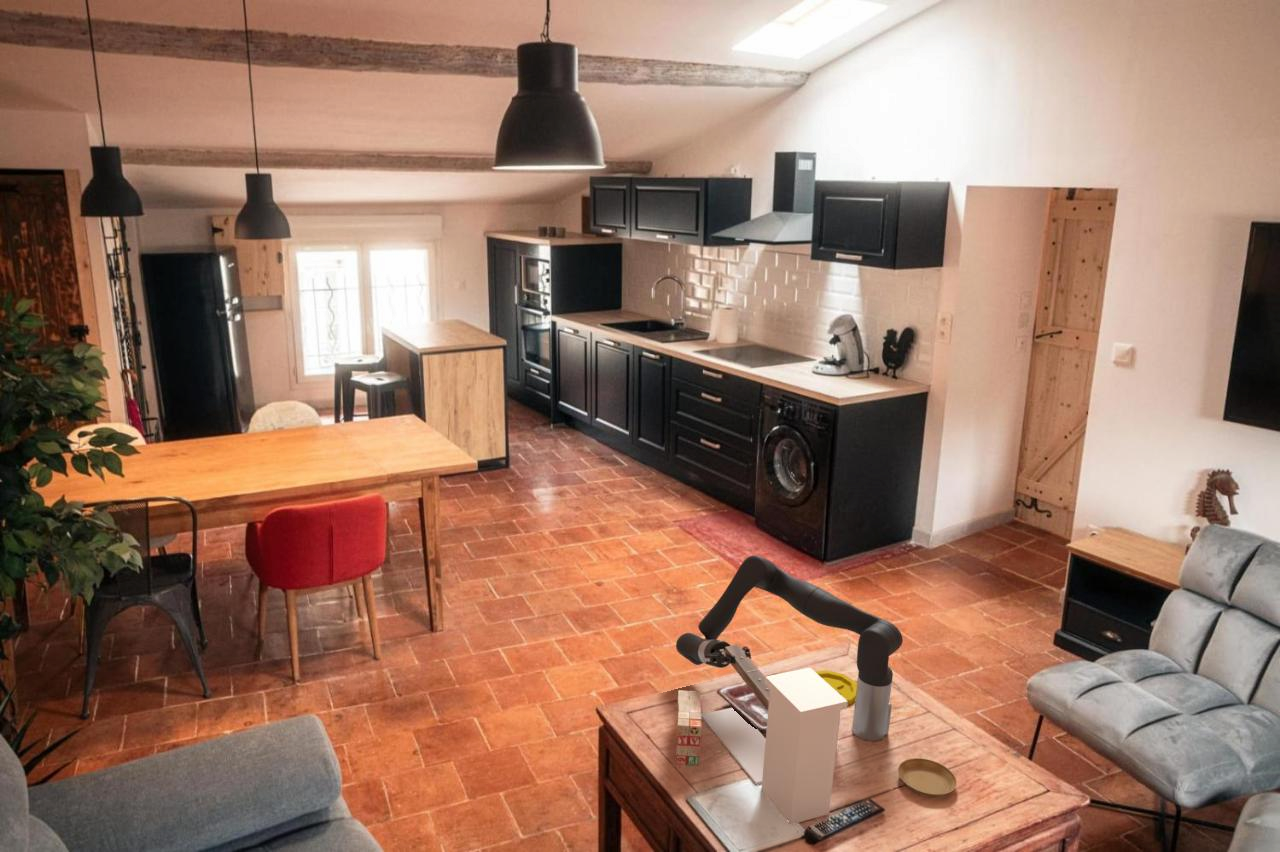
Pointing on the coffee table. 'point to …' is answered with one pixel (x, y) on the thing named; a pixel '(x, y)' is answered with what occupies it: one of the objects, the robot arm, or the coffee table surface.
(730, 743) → the white mat
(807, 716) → the tall stand
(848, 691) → the decorative disc
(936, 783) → the plant saucer
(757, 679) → the studded wooden bar
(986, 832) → the coffee table surface
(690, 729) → the stack of blocks
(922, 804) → the coffee table surface
